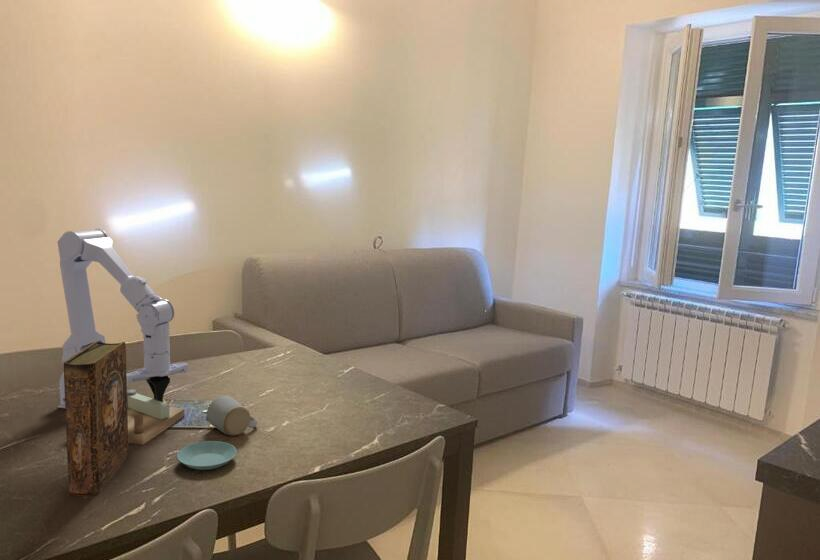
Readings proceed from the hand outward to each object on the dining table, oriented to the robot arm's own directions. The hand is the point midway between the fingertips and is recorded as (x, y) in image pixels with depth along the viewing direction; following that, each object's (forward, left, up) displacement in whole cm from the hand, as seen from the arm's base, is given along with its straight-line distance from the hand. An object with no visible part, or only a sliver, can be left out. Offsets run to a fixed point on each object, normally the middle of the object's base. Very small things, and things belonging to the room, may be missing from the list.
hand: (158, 406), depth 151 cm
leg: (-3, -1, -1) cm, 3 cm away
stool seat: (-4, -5, -3) cm, 7 cm away
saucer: (+22, -17, -4) cm, 28 cm away
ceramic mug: (+19, 0, -4) cm, 20 cm away
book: (+5, -28, -4) cm, 29 cm away
